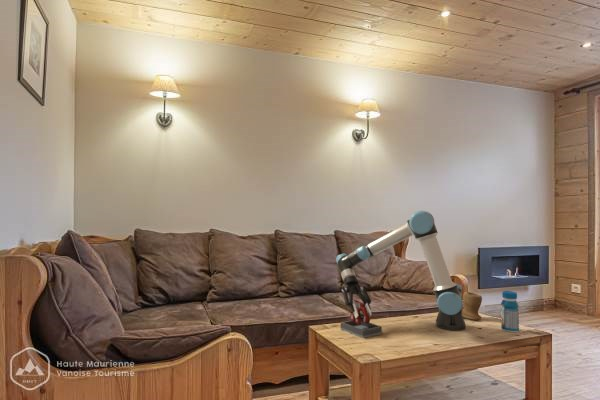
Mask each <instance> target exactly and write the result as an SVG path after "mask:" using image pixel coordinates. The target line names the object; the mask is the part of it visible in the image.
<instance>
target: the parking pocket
mask: <svg viewBox="0 0 600 400" xmlns="http://www.w3.org/2000/svg"><path fill="white" fill-rule="evenodd" d="M382 327H383V326H380V325H378V324H375V323H372V322H371V321H370V322H369V323H364V322H361V324H356V322H355V321H354V322H352V321H351V319H350V320H348V321H347V320H345V321H341V322H340V330H341V331H345V332H347V333H350V334H352V335H354V336H356V337H359V338H362V339H365V338H369V337H373V336H378V335H381V334H382V333H383V328H382Z"/></svg>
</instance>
